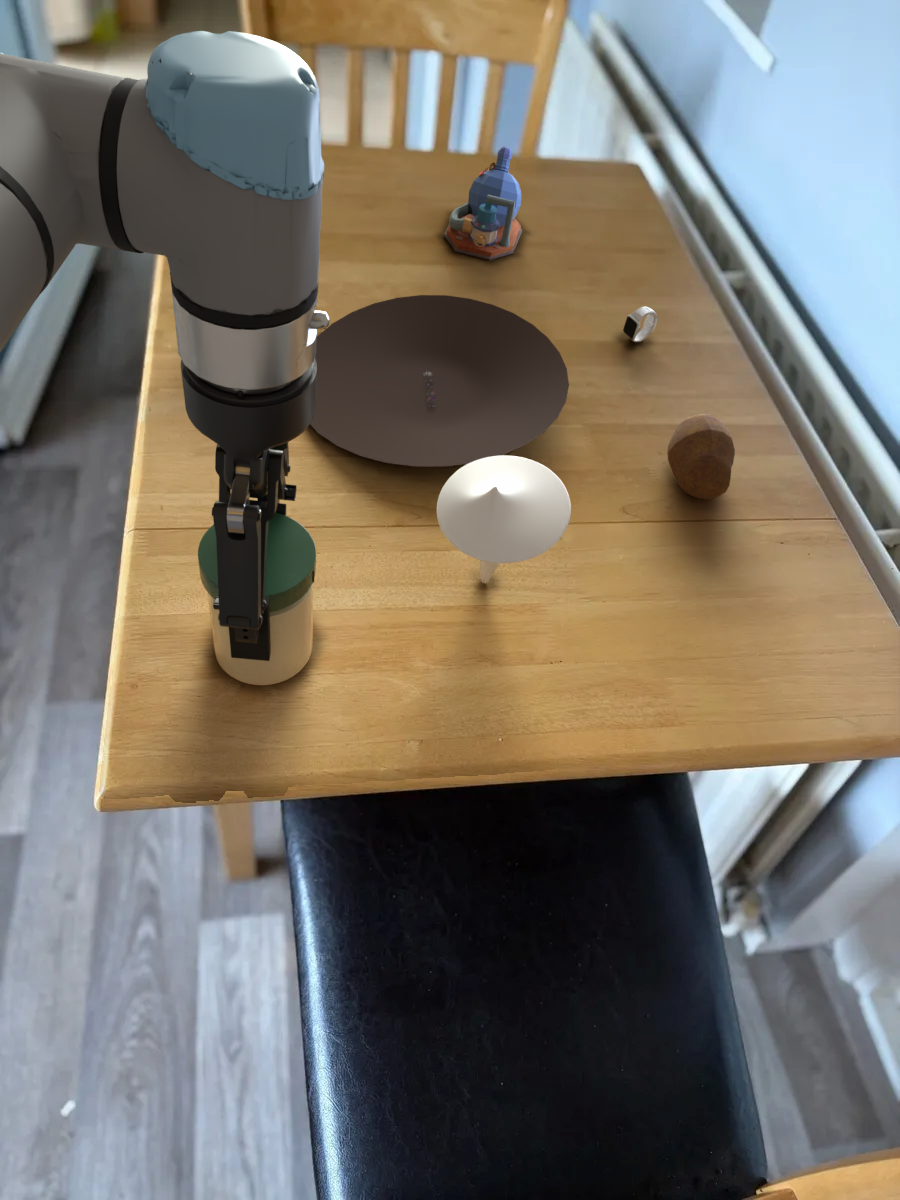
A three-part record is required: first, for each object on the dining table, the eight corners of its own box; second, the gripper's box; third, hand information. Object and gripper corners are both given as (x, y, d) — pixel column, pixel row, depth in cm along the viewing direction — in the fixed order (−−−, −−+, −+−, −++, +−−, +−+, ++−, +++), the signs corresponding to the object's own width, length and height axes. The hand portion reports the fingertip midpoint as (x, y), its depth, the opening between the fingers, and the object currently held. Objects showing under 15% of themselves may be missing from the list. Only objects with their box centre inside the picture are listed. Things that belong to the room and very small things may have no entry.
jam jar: (199, 672, 69) (187, 588, 62) (233, 599, 74) (226, 512, 66) (296, 695, 69) (295, 614, 61) (323, 620, 74) (326, 536, 66)
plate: (294, 306, 101) (294, 276, 98) (538, 320, 106) (544, 292, 103) (292, 481, 84) (292, 451, 81) (583, 488, 88) (593, 460, 85)
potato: (667, 508, 88) (688, 460, 83) (651, 441, 94) (670, 393, 89) (732, 513, 89) (757, 466, 84) (712, 447, 95) (734, 399, 90)
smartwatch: (643, 330, 107) (652, 300, 104) (654, 340, 106) (664, 311, 103) (619, 337, 106) (628, 307, 102) (630, 347, 105) (640, 318, 101)
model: (459, 203, 120) (469, 132, 113) (526, 220, 120) (540, 150, 113) (437, 247, 113) (446, 174, 106) (509, 265, 112) (523, 192, 105)
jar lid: (330, 543, 67) (331, 525, 66) (296, 626, 62) (296, 609, 60) (224, 517, 67) (222, 498, 66) (181, 597, 62) (179, 579, 61)
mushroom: (473, 648, 74) (498, 550, 65) (401, 561, 79) (415, 458, 70) (568, 600, 79) (604, 502, 70) (495, 521, 84) (520, 420, 75)
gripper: (293, 493, 44) (292, 732, 62) (334, 264, 58) (324, 514, 75) (136, 476, 44) (180, 722, 61) (215, 248, 57) (233, 504, 74)
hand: (260, 607), depth 68 cm, fingers closed on jar lid, 8 cm apart
